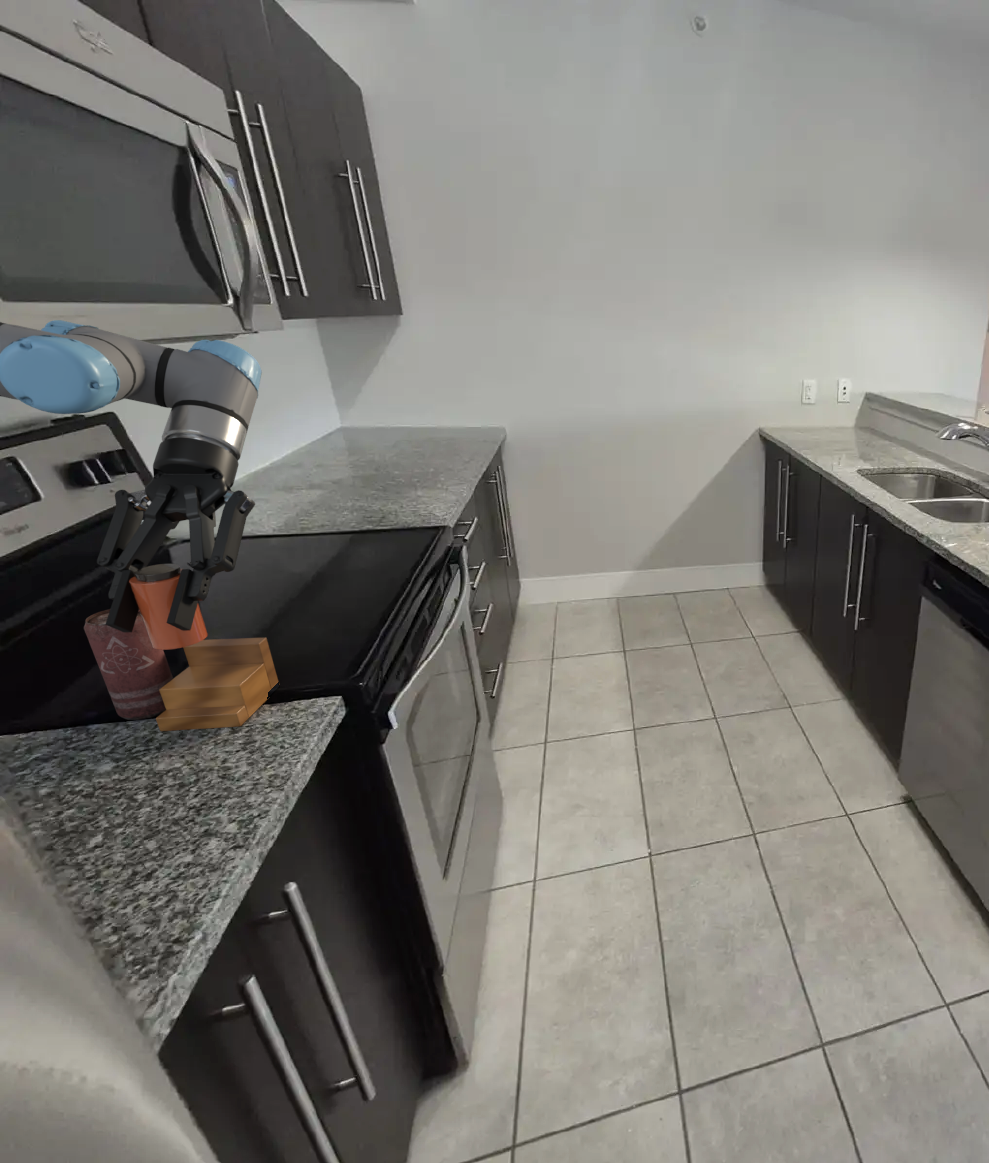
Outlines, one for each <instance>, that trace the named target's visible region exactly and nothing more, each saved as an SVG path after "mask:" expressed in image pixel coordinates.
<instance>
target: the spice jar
mask: <svg viewBox="0 0 989 1163" xmlns="http://www.w3.org/2000/svg"><path fill="white" fill-rule="evenodd" d="M182 569H183V568H181V566H180V565H179V564H177V563H160V564H153V565H147V567H144V568H141V569H139V570H137V571H135V572H134V574H135V576H134V577H132V578H131V579H130V580H129V582H130V585H131V588H132V591H133V594H134V597H135V599H136V602H137V605H138V608H139V611H140V614H141V617H142V619H143V622H144V625H145V628H146V631H147V634H148V637H149V639H150V642H151V645H152V647H153V648H155V649H160V650H163V651H165V650H169V651H170V650H176V649H182V648H183V647H186V646H190V645H193V644H196V643H198V642H200V641H202V640H206V639H207V637H208V636H209V633H208V631H207V627H206V623H205V620H204V617H203V614H202V611H201V608H200V604H199V603H198V604H197V608H196V612H195V615H194V619H193V623H192V627H191V630H188V631H183V630H180V629H178V628H176V627H174V626H172V625H170V624H168V623H166V622H167V619H168V615H169V612H170V608H171V605H172V601H173V598H174V594H175V591H176V587H177V584H178V581H179V577H180V574H181V570H182Z"/></svg>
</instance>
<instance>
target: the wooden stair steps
mask: <svg viewBox="0 0 989 1163" xmlns="http://www.w3.org/2000/svg"><path fill="white" fill-rule="evenodd" d="M182 648H183V651H184V655H185V658H186V660H187V663H188V667H187V668H186V669H184V670H183V671H181V672H180V673H179V674H177V675H176V676H175V677H173V679H172V680H171V681H170V682H168V683H167V684H166V685H165V686H163V687H162V688H161V689H159V690H160V693H161V696H162V699H163V702H164V705H165V707H166V710H165V711H164V712H163V713H162V714H160V715H157V716H156V718H155V720H156V724H157V727H158V728H159V731H160V732H171V731H189V730H190V731H191V730H202V729H203V730H205V729H218V728H219V729H221V728H222V729H223V728H236V727H237V728H239V727H242V726H243V725H244V724H245V723H246V721H248V720H249V718H250V717H252V715H254V713H255V712H256V711H258V710H259V709H260V707H261V706H262V705H263V704H265V703H266V702H267V700H268V699H267V697H268V692H269V691H270V690H271V689H272V688H273V687H274V686H275V685H276V684H277V683H278V682H279V679H278V675H277V672H276V668H275V664H274V661H273V656H272V653H271V649H270V645H269V642H268V639H267V637H246V638H245V637H242V638H216V639H204V640H202V641H200V642H198V643H196V644H193V645H190V646H186V647H182Z"/></svg>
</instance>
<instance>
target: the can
mask: <svg viewBox="0 0 989 1163" xmlns="http://www.w3.org/2000/svg"><path fill="white" fill-rule="evenodd" d="M110 609H111V608H109V609H105V610H101V611H98V612H95V613H93V614H91V615H90V616H88V617H86V619H85V620H84V626H83V630H84V633H85V635H86V637H87V640H88V643H89V646H90V648H91V650H92V653H93V656H94V658H95V662H96V663H97V665H98V668H99V671H100V674H101V676H102V678H103V681H104V684H105V686H106V688H107V692H108V694H109V696H110V699H111V701H112V704H113V706H114V709H115V711H116V714H117V716H119V717H120V718H122V719H125V720H128V721H137V720H145V719H146V720H147V719H150V718H154V717H158V716H159V715H160V714H162V713H163V712H164V711H165V710H166V707H165V705H164V702H163V699H162V696H161V693H160V690H159V689H161V688H162V687H163V686H165V685H166V684H167V683H168V682H170V681H171V680H172V679H174V677H173V674H172V672H171V668H170V665H169V662H168V660H167V657H166V654H165V652H164V651H165V650H160V649H155V648H153V647H152V645H151V642H150V639H149V637H148V634H147V631H146V628H145V625H144V622H143V619H142V617H141V614H140V611H138V614H137V618H136V621H135V624H134V627H133V631H132V632H122V631H119V630H117V629H115V628H112V627H110V626H108V625H105V624H106V621H107V618H108V615H109V612H110Z"/></svg>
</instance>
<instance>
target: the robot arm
mask: <svg viewBox="0 0 989 1163" xmlns="http://www.w3.org/2000/svg"><path fill="white" fill-rule="evenodd" d="M262 373H263V372H262V367H261V365H260V363H259V362H258V360H257V359H256V358H255V357H254V356H253V355H252V353H249V352H248V351H247V350H246V349H244V348H242V347H240V346H238V345H236V344H234V343H231V342H228V341H225V340H221V339H220V340H219V339H213V340H209V339H201V340H198V341H196V342H195V343H193V345H191V347H190V348H189V350H183V349H179V348H172V347H166V346H164V345H163V346H162V345H159V344H156V343H152V342H148V341H144V340H140V339H137V338H133V337H130V336H126V335H122V334H118V333H114V332H112V331H108V330H104V329H100V328H99V327H98V326H93V325H87V324H80V323H75V322H72V321H67V320H61V319H55V320H50V321H48V322H47V323H46V324H45V326H43V327H42V328H41V329H37V328H33V327H32V328H31V327H27V326H22V325H17V324H10V323H7V322H2V321H0V397H3V398H6V399H11V400H16V401H20V402H21V403H23V404H25V405H27V406H29V407H31V408H33V409H36V410H38V411H41V412H46V413H49V414H55V415H56V414H57V415H72V414H73V415H80V414H87V413H91V412H94V411H97V410H99V409H102V408H104V407H106V406H108V405H111V404H113V403H115V402H119V401H122V400H129V401H135V402H139V403H145V404H150V405H154V406H158V407H160V408H161V407H162V408H167V409H171V410H170V412H169V415H168V418H167V421H166V423H165V426H164V429H163V431H162V434H161V442H160V443H159V445H158V449H157V451H156V454H155V458H154V461H153V464H152V473H153V478H152V479H151V480H150V481H149V482H148V483H147V484H146V485H145V488H144V489H142V490H138V491H133V492H129V491H127V490H126V489H119V490H117V491H116V492H115V493H114V500H115V510H114V512H113V515H112V517H111V519H110V523H109V526H108V528H107V532H106V534H105V536H104V540H103V542H102V545H101V548H100V550H99V553H98V556H97V558H96V563H97V565H99V566H101V567H103V568H104V569H107V570H109V571H110V572H112V573H114V575H113V579H112V582H111V584H110V587H109V590H108V594H107V595H108V599H110V600H112V603H111V605H110V608H109V609H110V612H109V615H108V618H107V621H106V624H105V625H108V626H110V627H112V628H115V629H117V630H119V631H122V632H132V631H133V627H134V624H135V621H136V618H137V614H138V611H139V608H138V605H137V602H136V599H135V597H134V594H133V591H132V588H131V585H130V582H129V580H130V579H131V578H132V577H134V576H135V574H134V572H135V571H137V570H139V569H141V568H144V567H148V566H149V564H150V563H151V560H152V559H153V558H154V556H155V555H156V553H157V551H158V550H159V548H160V547H161V546H162V544H163V542H164V540H165V539H166V537H167V536H168V535H169V533H170V531H171V530H175V529H176V528H177V527H178V525H179V523H181V522H183V521H188V527H189V550H190V561H189V562H186V564H187V566H189V567H190V568H192V569H190V568H181V569H182V570H181V574H180V577H179V581H178V584H177V587H176V591H175V594H174V598H173V601H172V605H171V608H170V612H169V615H168V619H167V622H166V623H168V624H170V625H172V626H174V627H176V628H178V629H180V630H183V631H188V630H191V627H192V623H193V619H194V615H195V612H196V608H197V604H199V602H205V600H206V599H207V597H208V594H209V590H210V586H211V583H212V580H213V577H214V576H216V574H219V573H221V572H225V573H230V572H232V571H234V570H235V568H236V564H237V560H238V556H239V551H240V547H241V544H242V543H241V542H242V538H243V534H244V531H245V526H246V522H247V518H248V516H249V515H250V514H251V512H252V510H253V509H254V507H255V506H256V502H255V500H254V499H252V498H251V497H250V496H249V495H248V494H247V493H246V492H244V491H243V490H241V489H239V490H238V489H237V490H235V491H232V489H231V488H232V487H233V486H234V484H235V479H236V476H237V472H238V469H239V460H240V459H241V456H242V452H243V449H244V446H245V443H246V442H245V441H246V437H247V435H248V430H249V426H250V423H251V420H252V417H253V414H254V410H255V407H256V404H257V399H258V398H259V389H260V384H261V379H262ZM149 502H150V504H149V505H148V506H147V504H148V503H149ZM223 506H224V507H223ZM222 507H223V508H222ZM220 508H222V512H221V515H220V520H219V523H218V524H219V525H218V527H217V518H216V511H218V510H219V509H220ZM216 527H217V528H218V529H217V532H216V536H215V528H216Z"/></svg>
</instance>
